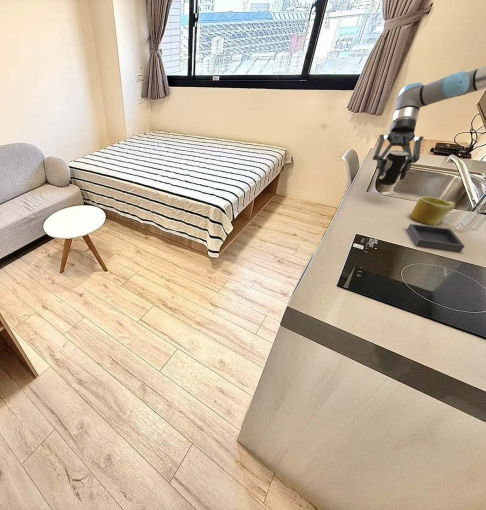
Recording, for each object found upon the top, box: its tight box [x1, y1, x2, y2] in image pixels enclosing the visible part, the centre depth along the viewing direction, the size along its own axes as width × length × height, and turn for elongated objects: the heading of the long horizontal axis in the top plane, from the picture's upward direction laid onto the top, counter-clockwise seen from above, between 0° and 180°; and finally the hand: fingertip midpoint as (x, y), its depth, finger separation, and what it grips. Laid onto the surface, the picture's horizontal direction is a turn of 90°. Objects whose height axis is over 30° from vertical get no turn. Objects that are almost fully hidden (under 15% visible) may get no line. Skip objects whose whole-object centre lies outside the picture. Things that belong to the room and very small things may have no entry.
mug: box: [410, 195, 456, 226], centre depth 102 cm, size 12×10×10 cm
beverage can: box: [375, 150, 409, 186], centre depth 109 cm, size 7×7×12 cm
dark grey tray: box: [406, 223, 466, 254], centre depth 93 cm, size 11×11×3 cm
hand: (390, 176), depth 108 cm, fingers closed on beverage can, 6 cm apart
